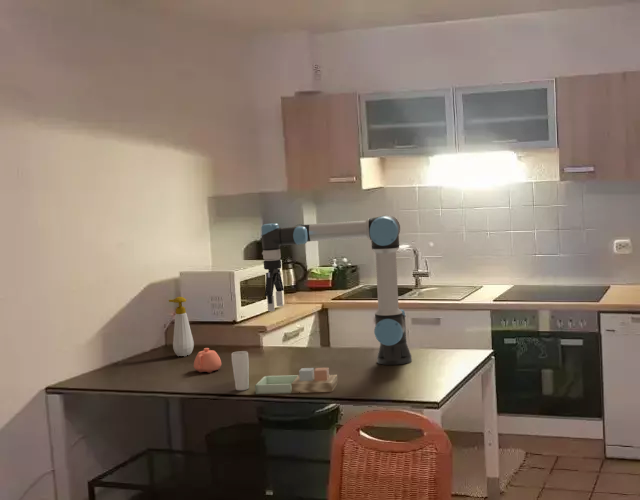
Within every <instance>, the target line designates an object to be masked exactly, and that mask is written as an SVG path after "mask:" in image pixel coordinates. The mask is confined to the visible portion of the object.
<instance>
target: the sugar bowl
mask: <svg viewBox="0 0 640 500" xmlns="http://www.w3.org/2000/svg"><path fill="white" fill-rule="evenodd" d="M194 358H195V359H194V362H193V368H194V369H195V370H196V371H197V372H198V373H204V372H207V373H210V374H211V373H213V372H214V371H218V370H220V368H221V366H222V360H221V358H220V356H219V354H218V352H216V350H213V349H212V350H211V349H210V348H209V347H205V348H203V350H201V351H198V353H197V355H196V356H195V357H194Z"/></svg>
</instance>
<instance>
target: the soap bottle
mask: <svg viewBox="0 0 640 500" xmlns="http://www.w3.org/2000/svg"><path fill="white" fill-rule="evenodd" d="M168 302H169V303H174V304H176V303H178V306H176V308H175V315H174V327H173V340H172V349H173V351H174V353H175V355H176V356H177V357H179V356H184V357H187V355H188V356H190V355H191V354H192V352H193V350H194V346H195V342H194V338H193V334H192V330H191V327H190V321H189V317H188V314H187V312H186V307H185V306H182V303H186V302H187V299H186V298H185V297H183V296H177V297H175V298H173V299H168Z"/></svg>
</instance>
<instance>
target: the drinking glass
mask: <svg viewBox="0 0 640 500" xmlns="http://www.w3.org/2000/svg"><path fill="white" fill-rule="evenodd" d="M249 362H250V359H249V352H248V351H247V350H241V351H239V350H238V351H234V352H232V353H231V366H232V371H233V379H234V384H235V390H236V391H240V392H241V391H247V390H249V388H250V385H249V383H250V382H249V379H250V378H249V375H250V374H249V371H250V367H249V366H250V363H249Z"/></svg>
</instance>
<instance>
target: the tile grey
mask: <svg viewBox="0 0 640 500" xmlns="http://www.w3.org/2000/svg"><path fill="white" fill-rule="evenodd" d="M314 370H315V367H304V368H303V367H302V368H300V369H299V370H298V376H299V377H300V381H312V380H313V379H314Z"/></svg>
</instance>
